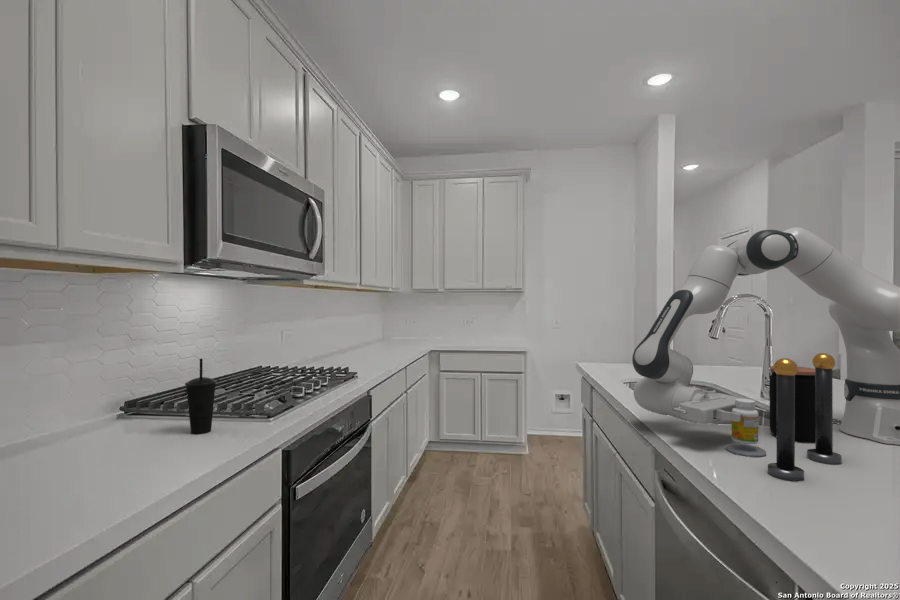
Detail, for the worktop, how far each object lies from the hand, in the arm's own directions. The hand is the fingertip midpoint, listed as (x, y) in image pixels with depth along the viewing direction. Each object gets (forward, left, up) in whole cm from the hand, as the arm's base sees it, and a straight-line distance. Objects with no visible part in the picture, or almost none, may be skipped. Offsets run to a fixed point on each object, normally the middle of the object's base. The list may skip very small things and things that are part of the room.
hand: (748, 416), depth 107 cm
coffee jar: (-12, -20, -9) cm, 25 cm away
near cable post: (-5, +13, -8) cm, 17 cm away
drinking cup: (+129, +53, -9) cm, 140 cm away
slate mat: (+1, 0, -8) cm, 9 cm away
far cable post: (-14, -2, -9) cm, 17 cm away
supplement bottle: (+1, 0, -6) cm, 6 cm away
